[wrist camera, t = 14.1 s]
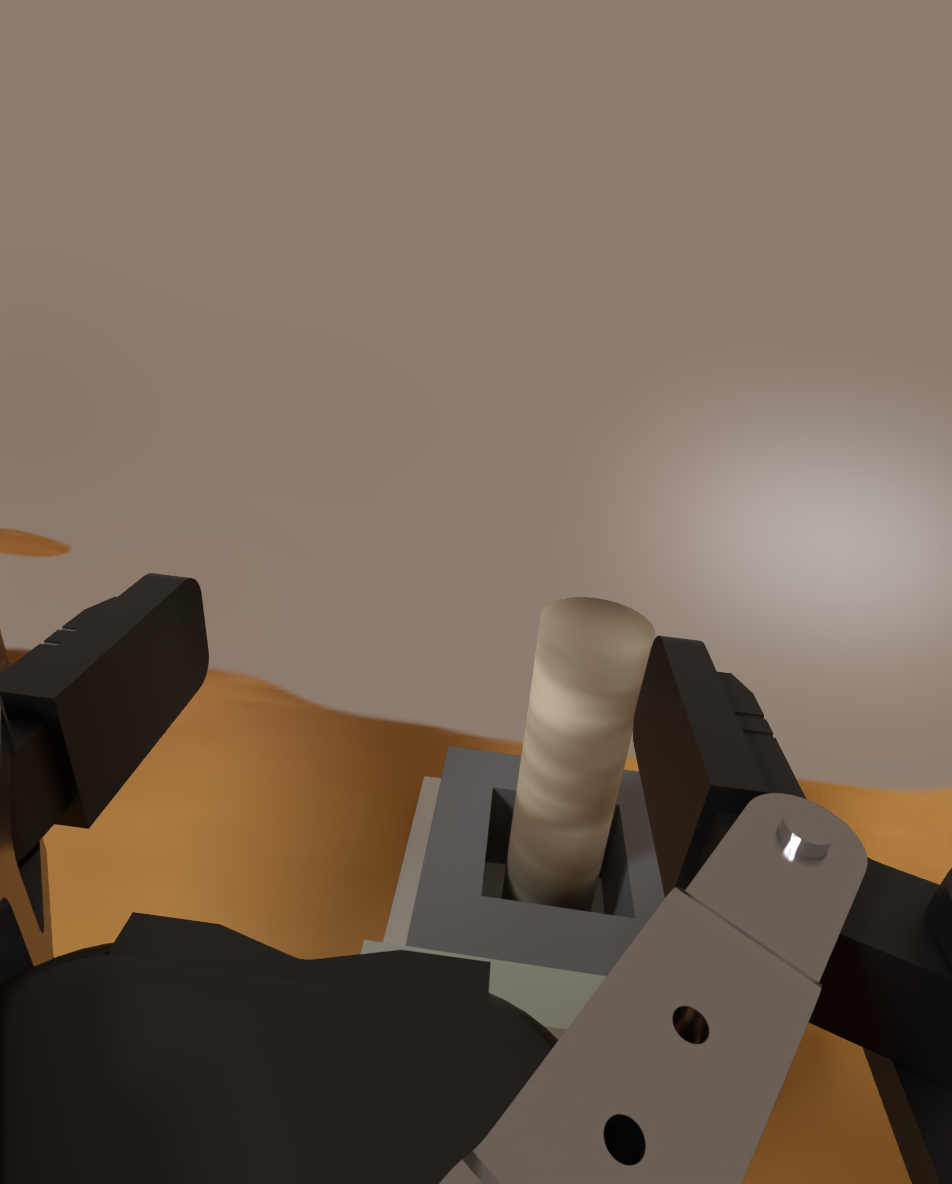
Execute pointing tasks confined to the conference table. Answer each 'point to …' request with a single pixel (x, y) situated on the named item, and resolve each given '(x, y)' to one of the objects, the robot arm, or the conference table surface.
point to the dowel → (574, 748)
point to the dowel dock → (505, 927)
